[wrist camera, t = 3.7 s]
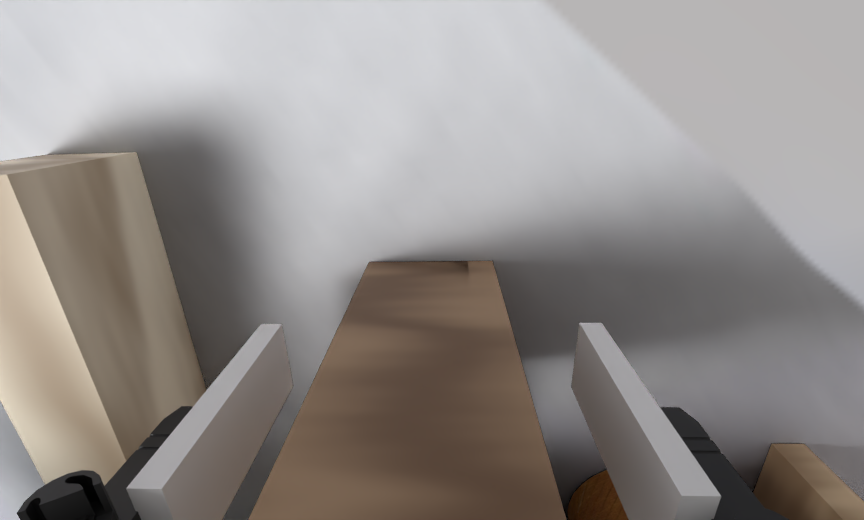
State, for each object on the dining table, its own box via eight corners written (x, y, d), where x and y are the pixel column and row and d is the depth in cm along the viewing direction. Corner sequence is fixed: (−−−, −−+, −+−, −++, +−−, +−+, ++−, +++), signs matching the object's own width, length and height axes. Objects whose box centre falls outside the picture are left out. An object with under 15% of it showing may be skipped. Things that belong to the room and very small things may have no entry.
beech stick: (143, 404, 20) (51, 497, 15) (51, 153, 15) (-119, 178, 11) (213, 404, 20) (141, 498, 15) (139, 151, 15) (6, 174, 11)
